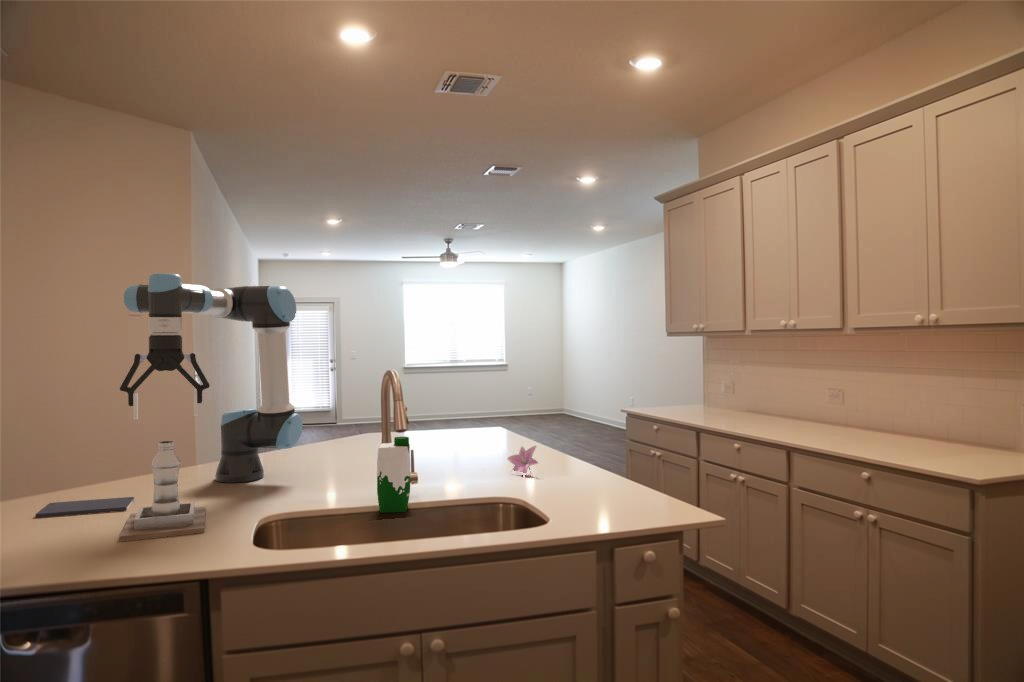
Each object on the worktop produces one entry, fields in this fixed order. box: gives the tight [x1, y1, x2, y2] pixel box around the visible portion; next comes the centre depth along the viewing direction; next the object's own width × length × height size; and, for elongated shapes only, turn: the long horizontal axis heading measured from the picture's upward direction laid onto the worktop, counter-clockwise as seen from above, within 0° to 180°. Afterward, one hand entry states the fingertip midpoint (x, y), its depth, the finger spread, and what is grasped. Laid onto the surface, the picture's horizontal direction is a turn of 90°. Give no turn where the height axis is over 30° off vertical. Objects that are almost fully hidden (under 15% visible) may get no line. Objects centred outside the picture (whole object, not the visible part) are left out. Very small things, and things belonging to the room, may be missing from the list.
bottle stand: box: [119, 501, 207, 543], centre depth 170 cm, size 22×18×4 cm
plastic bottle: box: [151, 440, 181, 517], centre depth 170 cm, size 6×7×20 cm
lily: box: [507, 445, 539, 473], centre depth 234 cm, size 12×12×10 cm
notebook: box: [34, 496, 135, 519], centre depth 186 cm, size 13×2×21 cm
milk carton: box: [376, 436, 411, 514], centre depth 186 cm, size 9×9×20 cm
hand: (166, 417), depth 170 cm, fingers open, 13 cm apart
